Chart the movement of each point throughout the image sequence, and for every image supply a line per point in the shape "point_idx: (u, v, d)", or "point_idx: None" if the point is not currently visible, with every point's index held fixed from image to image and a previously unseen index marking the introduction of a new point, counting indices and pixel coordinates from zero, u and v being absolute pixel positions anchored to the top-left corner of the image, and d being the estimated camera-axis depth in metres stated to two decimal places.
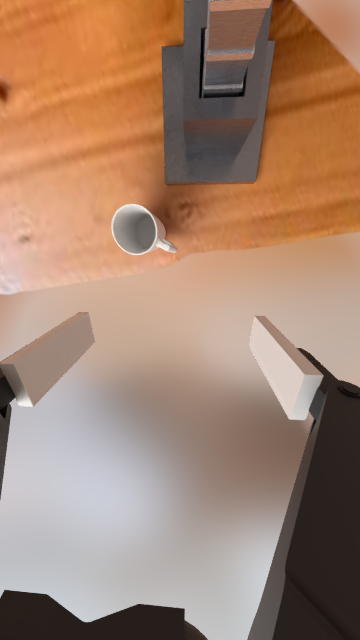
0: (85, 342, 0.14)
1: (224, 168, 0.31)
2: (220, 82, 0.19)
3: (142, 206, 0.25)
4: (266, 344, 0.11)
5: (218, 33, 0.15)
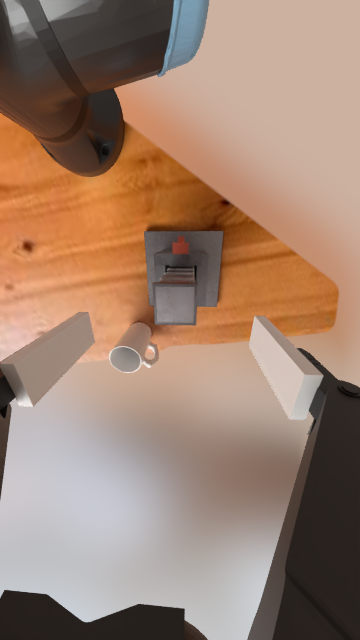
0: (85, 342, 0.14)
1: None
2: None
3: (130, 347, 0.36)
4: (266, 344, 0.11)
5: None
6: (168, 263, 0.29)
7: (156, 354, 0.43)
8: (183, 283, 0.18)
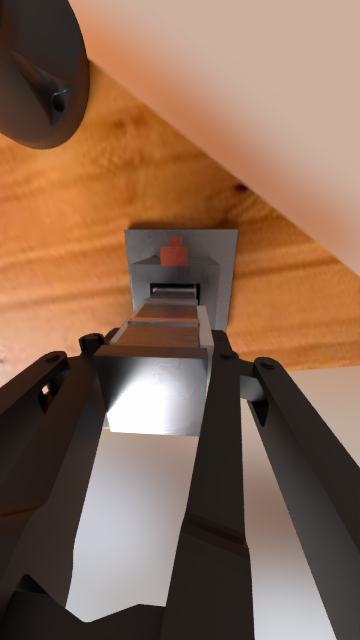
0: None
1: None
2: None
3: None
4: None
5: None
6: (155, 280, 0.18)
7: None
8: (172, 353, 0.07)
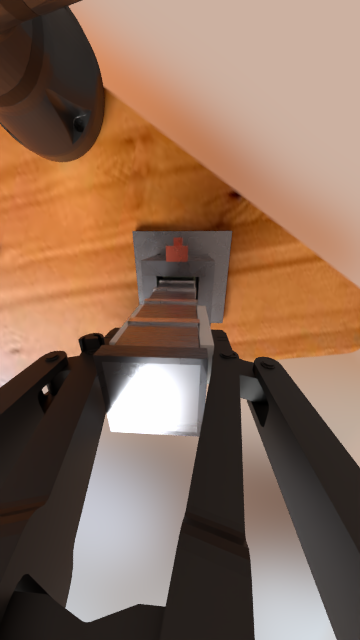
0: None
1: None
2: None
3: None
4: None
5: None
6: (161, 273, 0.22)
7: None
8: (172, 353, 0.07)
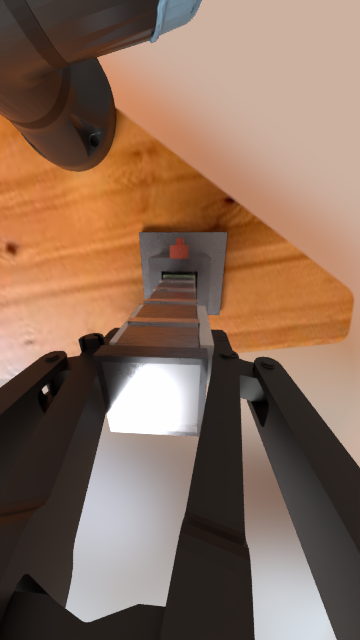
0: None
1: None
2: None
3: None
4: None
5: None
6: (165, 269, 0.25)
7: None
8: (172, 353, 0.07)
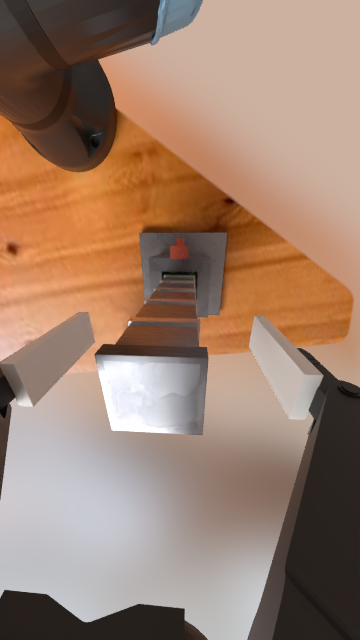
0: (85, 342, 0.14)
1: None
2: None
3: None
4: (266, 344, 0.11)
5: None
6: (165, 269, 0.25)
7: None
8: (172, 352, 0.07)
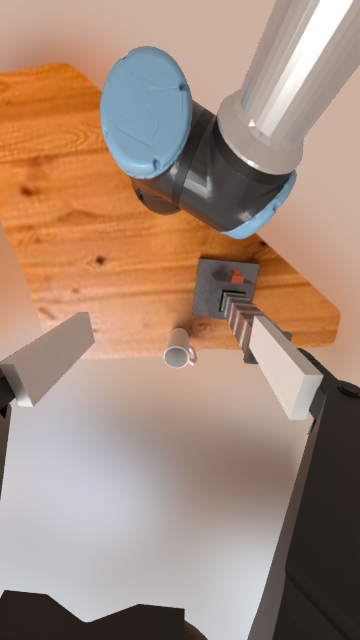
0: (85, 342, 0.14)
1: None
2: None
3: (182, 348, 0.46)
4: (266, 344, 0.11)
5: None
6: (225, 288, 0.40)
7: (195, 355, 0.53)
8: None
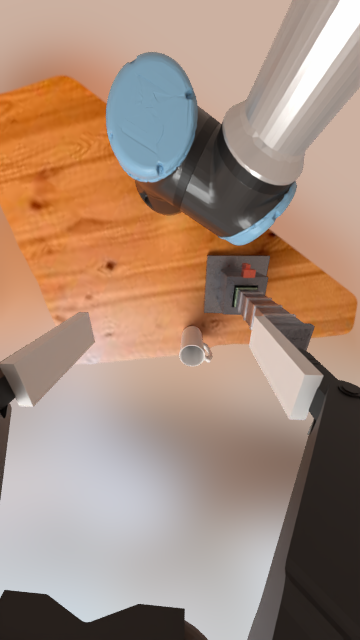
0: (85, 342, 0.14)
1: None
2: None
3: (198, 346, 0.46)
4: (266, 344, 0.11)
5: None
6: (237, 283, 0.39)
7: (209, 352, 0.53)
8: (300, 325, 0.21)
